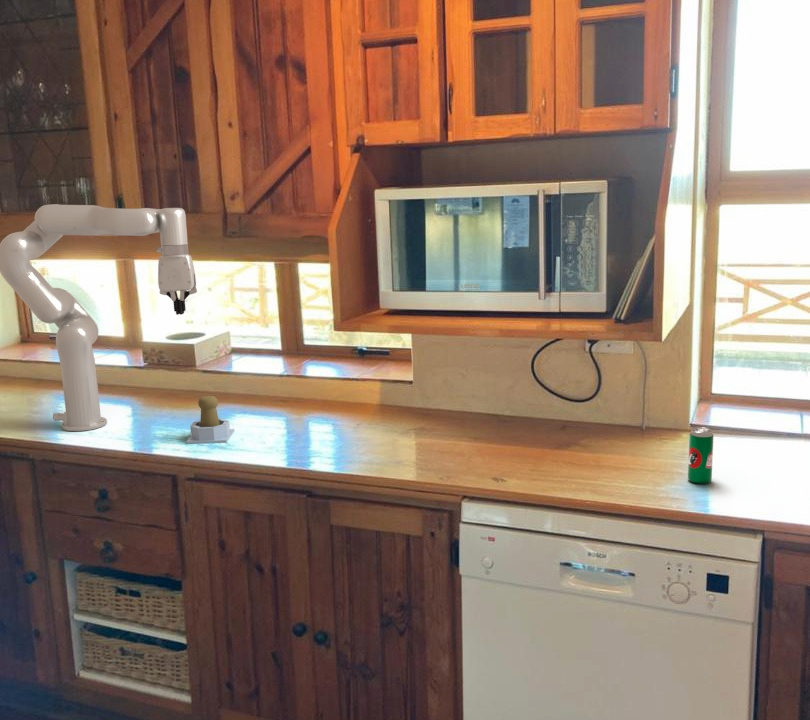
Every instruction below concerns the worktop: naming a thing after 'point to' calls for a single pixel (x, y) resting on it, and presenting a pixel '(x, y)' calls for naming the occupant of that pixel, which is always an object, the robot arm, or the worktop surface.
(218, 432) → the grey octagonal holder
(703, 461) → the soda can
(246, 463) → the worktop surface
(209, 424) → the cork
